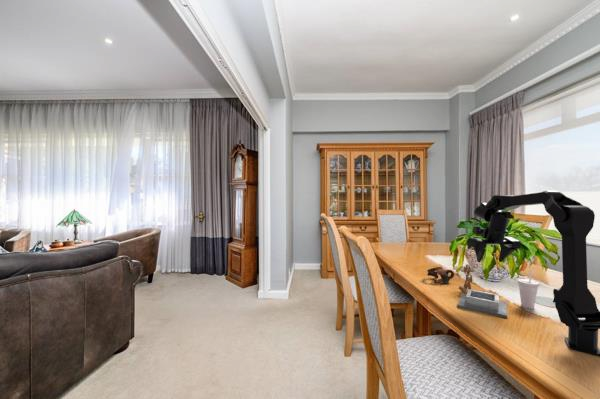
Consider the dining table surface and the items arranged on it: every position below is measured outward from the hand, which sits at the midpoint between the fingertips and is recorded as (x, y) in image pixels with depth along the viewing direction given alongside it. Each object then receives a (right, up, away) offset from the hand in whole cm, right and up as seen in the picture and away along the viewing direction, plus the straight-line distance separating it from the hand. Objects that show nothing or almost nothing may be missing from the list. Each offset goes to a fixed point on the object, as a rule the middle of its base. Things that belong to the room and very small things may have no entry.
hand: (489, 261), depth 109 cm
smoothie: (+10, -16, -7) cm, 20 cm away
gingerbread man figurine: (-3, -16, +9) cm, 18 cm away
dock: (-7, -16, -6) cm, 18 cm away
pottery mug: (-8, -15, +23) cm, 29 cm away
